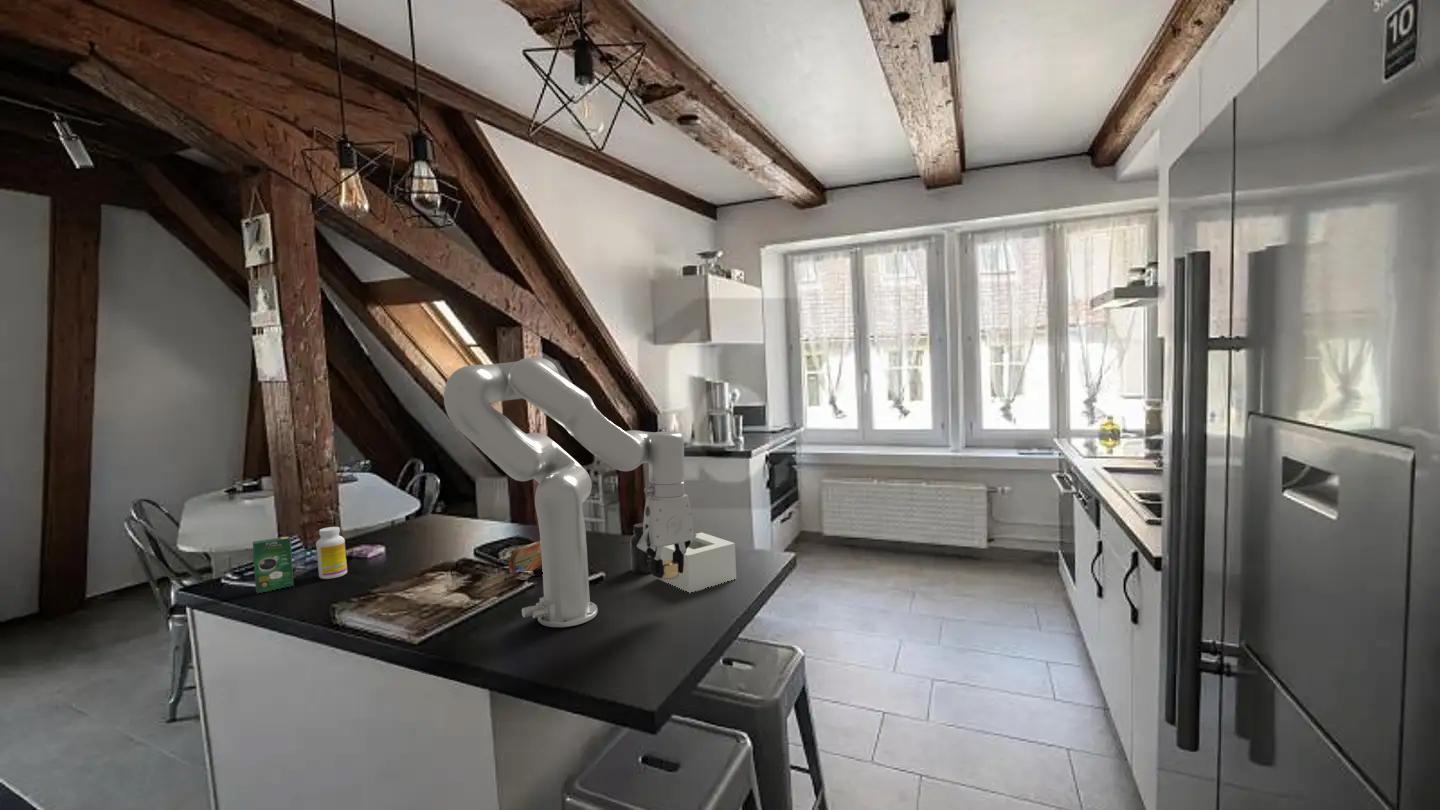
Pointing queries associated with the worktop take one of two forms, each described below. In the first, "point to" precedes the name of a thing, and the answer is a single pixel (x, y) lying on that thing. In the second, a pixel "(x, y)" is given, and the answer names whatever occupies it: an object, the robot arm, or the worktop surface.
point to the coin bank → (704, 563)
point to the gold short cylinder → (670, 569)
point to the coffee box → (273, 564)
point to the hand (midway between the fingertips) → (667, 573)
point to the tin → (526, 558)
